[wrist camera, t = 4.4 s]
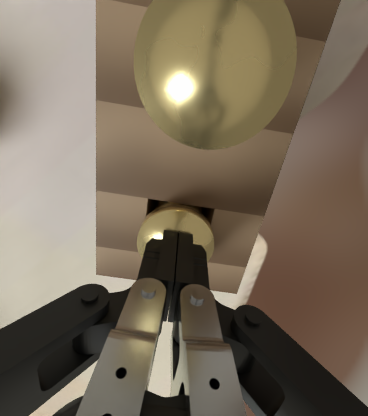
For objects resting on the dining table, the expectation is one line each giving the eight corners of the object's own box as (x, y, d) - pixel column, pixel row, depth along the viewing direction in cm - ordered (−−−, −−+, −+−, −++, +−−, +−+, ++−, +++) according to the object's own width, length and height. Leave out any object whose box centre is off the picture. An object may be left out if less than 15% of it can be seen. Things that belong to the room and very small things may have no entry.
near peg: (171, 26, 14) (140, -57, 5) (242, 40, 14) (324, -18, 5) (162, 103, 16) (128, 137, 7) (225, 114, 16) (267, 160, 7)
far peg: (161, 151, 21) (140, 205, 12) (208, 159, 21) (222, 218, 12) (155, 195, 23) (134, 270, 14) (200, 202, 23) (205, 279, 14)
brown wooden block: (144, -3, 17) (95, -86, 8) (271, 22, 18) (352, -32, 9) (130, 203, 25) (96, 274, 16) (220, 217, 25) (236, 293, 16)
